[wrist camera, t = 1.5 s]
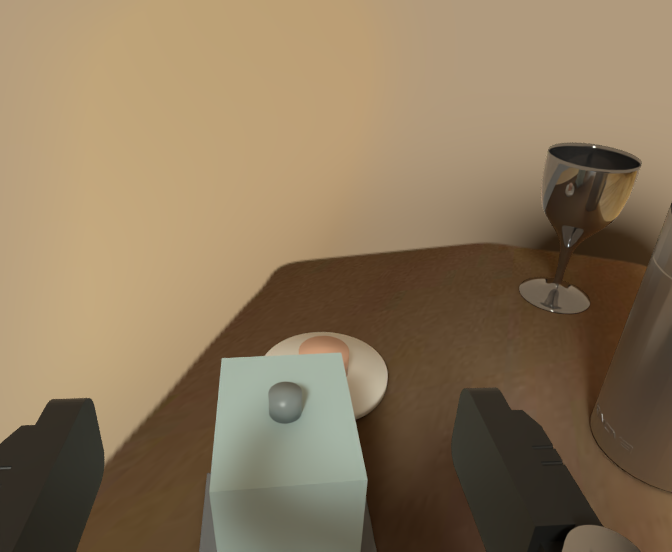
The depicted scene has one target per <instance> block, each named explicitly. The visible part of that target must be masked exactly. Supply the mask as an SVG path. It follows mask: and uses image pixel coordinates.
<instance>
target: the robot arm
mask: <svg viewBox="0 0 672 552" xmlns="http://www.w3.org/2000/svg"><path fill="white" fill-rule="evenodd" d="M590 426H591V429H592V433H593V436H594V438H595V439H596V441H597V443H598V445H599V446H600V447H601V449H602V450H603V451H604V452H605V453H606V455H607V456H608V457H609V458H610V459H611V460H613V461H614V462H615V463H616V464H617V465H618V466H619V467H621V468H622V469H624V470H625V471H626V472H628V473H629V474H631V475H632V476H634V477H636V478H638V479H640V480H641V481H643V482H645V483H647V484H649V485H652V486H654V487H657V488H660V489H662V490H665V491H669V492H672V203H671V207H670V208H669V211H668V213H667V216H666V219H665V221H664V224H663V227H662V229H661V232H660V234H659V237H658V240H657V242H656V245H655V248H654V251H653V254H652V256H651V259H650V261H649V264H648V267H647V269H646V272H645V274H644V277H643V280H642V282H641V285H640V288H639V290H638V293H637V296H636V298H635V301H634V303H633V306H632V309H631V311H630V314H629V317H628V319H627V322H626V325H625V327H624V330H623V332H622V335H621V338H620V340H619V343H618V346H617V348H616V351H615V353H614V356H613V359H612V361H611V364H610V367H609V369H608V372H607V374H606V377H605V380H604V382H603V385H602V388H601V391H600V393H599V396H598V399H597V401H596V404H595V407H594V409H593V412H592V415H591V422H590ZM451 448H452V458H453V463H454V467H455V470H456V472H457V475H458V478H459V480H460V483H461V486H462V488H463V491H464V493H465V496H466V499H467V501H468V504H469V507H470V509H471V512H472V515H473V517H474V520H475V523H476V525H477V528H478V530H479V533H480V536H481V538H482V541H483V544H484V546H485V549H486V552H641V551H640V550H639V549H638V548H637V547H636V546H635V545H634V544H633V543H632V542H630V541H629V540H628V539H627V538H625V537H624V536H622V535H620V534H619V533H617V532H615V531H613V530H610V529H608V528H605V527H603V525H602V524H601V522H600V521H599V519H598V518H597V516H596V514H595V513H594V511H593V509H592V508H591V506H590V505H589V503H588V501H587V500H586V498H585V496H584V495H583V493H582V492H581V490H580V488H579V487H578V485H577V484H576V482H575V480H574V479H573V477H572V475H571V474H570V472H569V471H568V469H567V467H566V466H565V465H563V463H562V459H561V458H560V456H559V454H558V453H557V451H556V449H553V445H552V443H551V441H550V440H549V438H548V436H547V435H546V433H545V432H544V430H543V428H542V427H541V426H540V425H539V424H538V423H537V422H536V421H535V420H533V419H532V418H531V417H530V416H529V415H527V414H526V413H525V412H524V411H523V410H511V409H510V407H509V405H508V403H507V402H506V400H505V398H504V396H503V395H502V393H501V391H500V390H499V389H498V388H465V389H463V390H462V392H461V394H460V399H459V404H458V409H457V414H456V420H455V425H454V430H453V435H452V443H451ZM103 471H104V449H103V445H102V440H101V435H100V431H99V426H98V421H97V416H96V412H95V407H94V404H93V401H92V400H91V399H90V398H78V399H52V400H51V401H49V402H48V404H47V405H46V407H45V409H44V410H43V412H42V414H41V416H40V417H39V419H38V421H37V423H36V424H35V425H25V426H21V427H19V428H18V429H17V430H16V431H15V432H13V433H12V434H11V435H10V436H9V437H8V438H6V439H5V440H4V441H3V442H2V443H1V444H0V552H76V550H77V547H78V544H79V542H80V539H81V536H82V533H83V531H84V528H85V525H86V522H87V520H88V517H89V514H90V511H91V509H92V506H93V503H94V500H95V498H96V495H97V492H98V489H99V487H100V484H101V481H102V477H103Z"/></svg>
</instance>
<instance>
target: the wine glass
mask: <svg viewBox="0 0 672 552" xmlns="http://www.w3.org/2000/svg"><path fill="white" fill-rule="evenodd" d="M641 164H642V162H641V160H640V159H639V158H637V157H636V156H634V155H632V154H630V153H628V152H625V151H622V150H618V149H615V148H611V147H606V146H602V145H595V144H586V143H560V144H555V145H552V146H550V147H549V149H548V152H547V156H546V160H545V165H544V170H543V176H542V186H541V201H542V207H543V210H544V212H545V215H546V216H547V218H548V220H549V221H550V223H551V224H552V226H553V227H554V229H555V231H556V233H557V235H558V238H559V242H560V255H559V262H558V267H557V271H556V275H555V278H549V277H534V278H529V279H526V280H524V281H523V282H522V283H521V284H520V286H519V292H520V294H521V295H522V297H523V298H524V299H525V300H527V301H528V302H529V303H531V304H532V305H534V306H536V307H538V308H541V309H543V310H547V311H550V312H555V313H561V314H575V313H580V312H583V311H585V310H586V309H588V307H589V306H590V299H589V297H588V295H587V294H586V293H585V292H584V291H583V290H582V289H580V288H579V287H577V286H575V285H573V284H571V283H569V282H566V281H563V276H564V272H565V269H566V267H567V264H568V262H569V260H570V257H571V255H572V253H573V251H574V250H575V248H576V247H577V246H578V245H579V244H580V243H581V242H582V241H583V240H585V239H586V238H588V237H589V236H591V235H593V234H595V233H596V232H598V231H600V230H602V229H603V228H605V227H607V226H608V225H609V224H611V223H612V222H613V221H614V220H615V219H616V218H617V216H618V215H619V213H620V212H621V210H622V209H623V207H624V206H625V204H626V202H627V200H628V198H629V196H630V195H631V193H632V190H633V187H634V185H635V182H636V180H637V177H638V174H639V171H640V168H641Z"/></svg>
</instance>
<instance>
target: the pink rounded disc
mask: <svg viewBox="0 0 672 552" xmlns="http://www.w3.org/2000/svg"><path fill="white" fill-rule="evenodd" d="M321 353H341V354H342V358H343V363H344V368H345V373H346V377H347V375H348V365H349V348H348V346H347V345H346V344H345V343H344V342H343V341H342V340H340V339H338V338H335V337H331V336H315V337H312V338H309V339H307V340H305V341H304V342H303V343H302V344H301V345H300V347H299V355H301V354H321Z"/></svg>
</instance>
